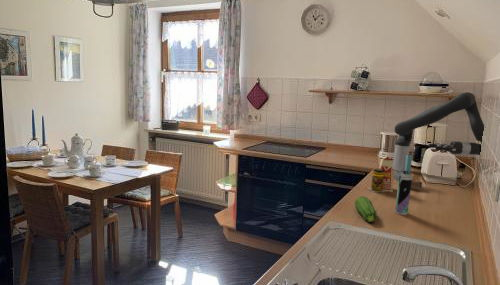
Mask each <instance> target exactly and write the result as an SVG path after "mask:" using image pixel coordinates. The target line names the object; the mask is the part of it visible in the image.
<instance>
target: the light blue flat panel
mask: <svg viewBox="0 0 500 285" xmlns="http://www.w3.org/2000/svg"><path fill="white" fill-rule="evenodd" d="M412 160H413V155H411V154H409V155H406V162H405V171H408V173H409V175H411V170H412V162H413V161H412ZM399 173H400V174H403V172H399Z"/></svg>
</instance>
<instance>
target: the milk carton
mask: <svg viewBox="0 0 500 285" xmlns="http://www.w3.org/2000/svg"><path fill="white" fill-rule="evenodd" d="M393 160H394V159H391V158H390V157H389V154H385V156H384V157H383V158H382V159H380V162H379V166H378V169H383V170H384V174H383V175H384V182H383V191H386V192H388V191H389V193H393V169H392V168H393Z"/></svg>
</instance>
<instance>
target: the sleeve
mask: <svg viewBox="0 0 500 285" xmlns="http://www.w3.org/2000/svg"><path fill="white" fill-rule="evenodd" d="M399 172H403V173H404V171H397V170H394V173H393V179H395V180H396V181H398V182H399V175H401V174H400V173H399ZM410 176H413V175H412V174H410Z"/></svg>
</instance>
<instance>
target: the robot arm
mask: <svg viewBox="0 0 500 285" xmlns="http://www.w3.org/2000/svg"><path fill="white" fill-rule="evenodd" d="M463 110H464V111H465V112H466V114H467V116H468V120H469V125H470V129H471V131H472V133H473V136H474V138H475V140H476V141H477V142H480V143H477V142H468V141H467V142H466V141H451V142H450V144H448V143H441V142H440V143H437V142H435V143H429V144H428V148H433V149H435V151H442V152H449V153H450V154H451V155H473V156H474V155H476V156H481V155H480V152H481V144H482V136H483V131H484V126H485V124H484V122H483V119H482V117H481V114H480V111H479V108H478V104H477V100H476V97H475V95H474V93H471V92H470V91H468V92H467V91H466V92H463V93H460V94H458V95H457V96H455V97H453V98H452V99H451V100H449V101H446V102H444V103H442V104H438V105H435V106H433V107H430V108H429V109H426V110H424V111H422V112H420V113H418V114H417V115H415V116H412V117H411V118H409V119H406V120H404V121H400V122H398V123H396V125H395V126H394V133H395V134H396V135H398V138H397V139H396V140H395V143H394V153H393V159H392V160H393V165H392V171H393V170H394V171H405V162H406V155H410V145H411V142H412V140H413V133H414V130H415V129H418V128H423V127H427V126H430V125H432V124H435V123H437V122H439V121H441V120H443V119H445V118H446V117H448V116H449V115H451V114H454V113H456V112H459V111H463Z"/></svg>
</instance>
